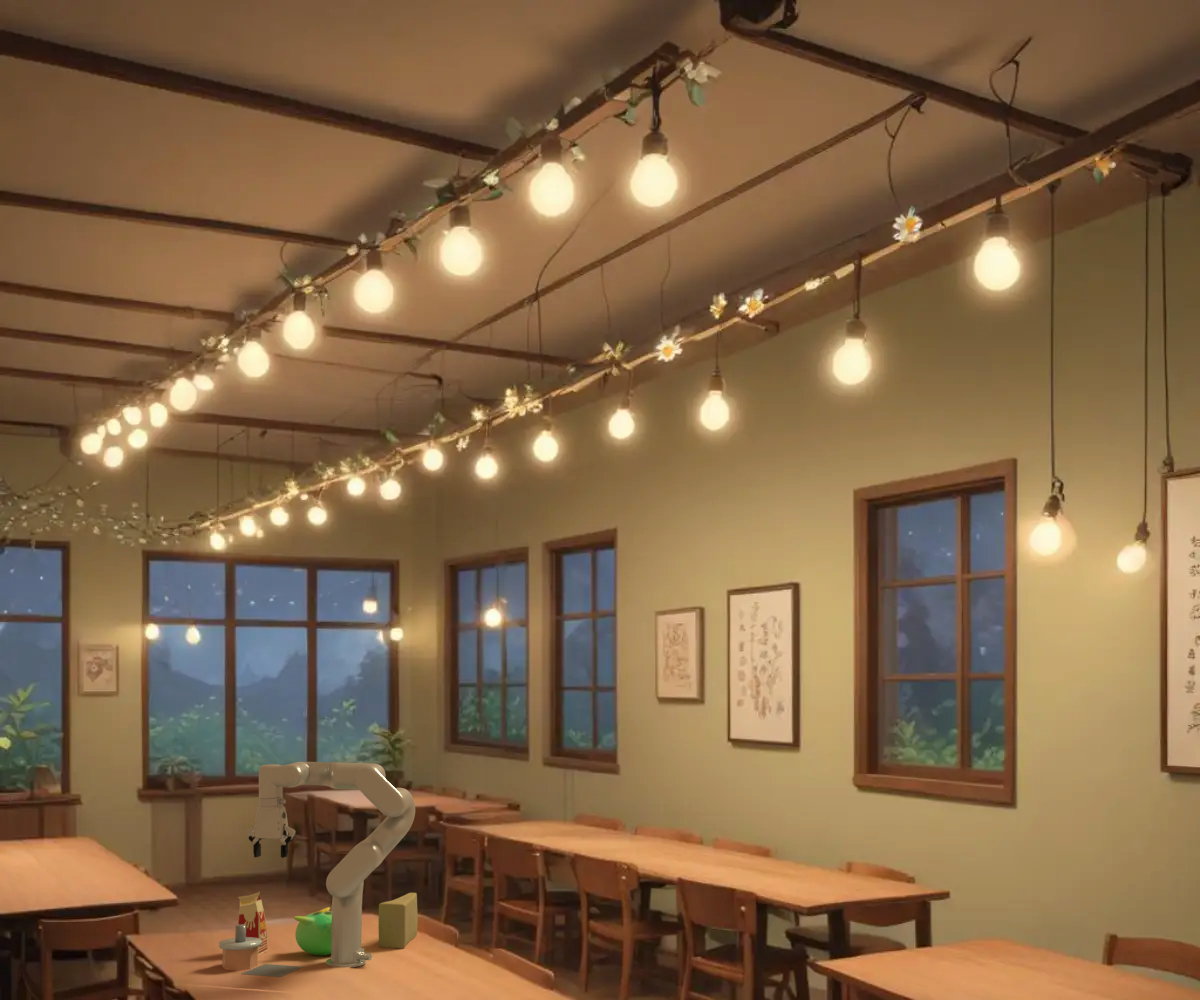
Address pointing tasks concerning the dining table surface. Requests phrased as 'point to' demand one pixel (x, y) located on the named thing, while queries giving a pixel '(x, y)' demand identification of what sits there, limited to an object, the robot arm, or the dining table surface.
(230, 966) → the bowl
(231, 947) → the lid
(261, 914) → the milk carton
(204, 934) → the dining table surface
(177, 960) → the dining table surface
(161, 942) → the dining table surface
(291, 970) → the mat
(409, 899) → the olive green block
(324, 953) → the toy bird
